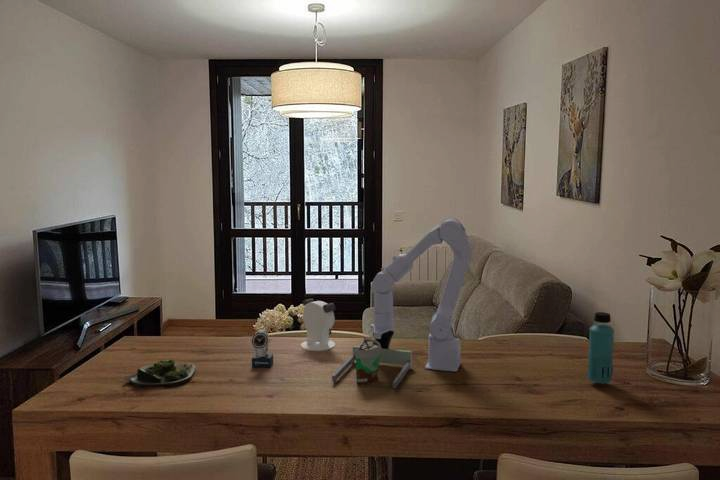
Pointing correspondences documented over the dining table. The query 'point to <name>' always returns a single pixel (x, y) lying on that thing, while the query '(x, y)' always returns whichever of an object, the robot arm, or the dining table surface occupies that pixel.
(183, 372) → the salad plate
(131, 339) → the dining table surface
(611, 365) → the beverage bottle
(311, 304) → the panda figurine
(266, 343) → the watch
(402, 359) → the grey u-shaped frame
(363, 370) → the food container
